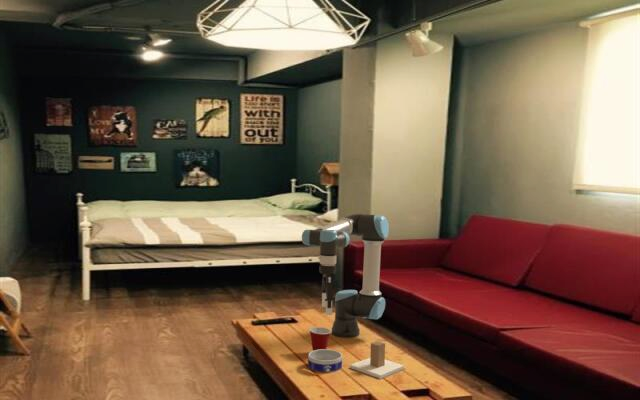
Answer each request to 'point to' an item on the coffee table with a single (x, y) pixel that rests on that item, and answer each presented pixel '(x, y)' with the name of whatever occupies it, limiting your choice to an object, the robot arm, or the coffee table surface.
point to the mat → (376, 377)
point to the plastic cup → (319, 337)
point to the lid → (377, 363)
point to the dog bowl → (325, 360)
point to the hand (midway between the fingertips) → (326, 310)
